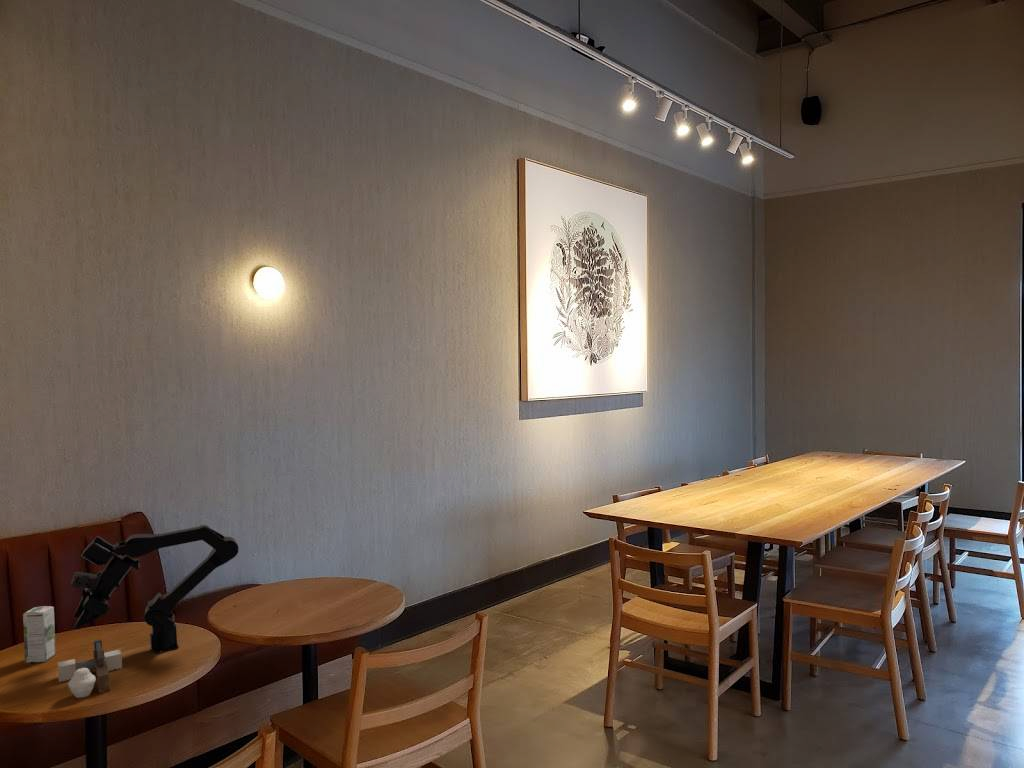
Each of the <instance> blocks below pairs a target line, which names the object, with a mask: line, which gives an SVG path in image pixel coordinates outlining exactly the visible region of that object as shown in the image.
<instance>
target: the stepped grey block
mask: <svg viewBox="0 0 1024 768" xmlns="http://www.w3.org/2000/svg"><path fill="white" fill-rule="evenodd" d="M93 645H94V646H93V648H94V650H96V651H97V655H98V660H99V665H100V666H102V665H104V657H103V653H102V649H103V644H102V638H99V639H94V640H93Z"/></svg>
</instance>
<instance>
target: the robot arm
mask: <svg viewBox="0 0 1024 768" xmlns="http://www.w3.org/2000/svg"><path fill="white" fill-rule="evenodd" d="M198 541H203V542H204V543H206V544H207V545H209V546H210V547H211V548H212V549H211V551H210V552H209V554H208V555H207V556H206V558H204V560H202V562H201V563H200V564H198V565H197V566H196V567H195V568H194V569H193V570H192V571H190V572H189V573H188V574H187V575H186V576H185V577H184V578H183V579H182V580H180V582H179V583H177V584H176V585H175V586H174V587H173V588H171V589H170V591H168V592H166V593H164V594H161V592H158V593H157V594H156V595H155V596H154V598H152V599H151V600H148V602H147V606H146V607H145V609H144V621H145V623H146V624H147V625H148V626H151V633H149V640H150V641H149V643H150V650H151V651H153V653H154V654H157V653H156V652H158V653H161V652H160V651H162V652H167V651H171V650H170V649H172V650H175V649H179V645H178V636H177V635H178V634H177V632H178V631H177V625H176V622H175V614H174V613H173V611H174V609H175V607H176V606H177V605H178V604H179V603H180V602H181V600H183V599H184V598H185V597H186V596H187V595H189V593H191V591H193V590H194V589H195V588H196V587H197V586H198V585H199V584H201V582H202V581H204V580H205V579H206V578H207V577H208V576H210V574H211V573H212V572H213V571H215V570H216V569H217V568H219V567H221V566H223V565H225V564H226V563H228V562H230V561H231V560H233V559H235V557H236V556H237V555H238V554H239V545H238V542H237V540H236V539H235V538H233V536H224V535H223V534H222V533H219V532H218V531H217V530H214V529H213V528H211V527H210V526H208V525H207V524H202V525H200V526H195V527H189V528H184V529H180V530H173V531H168V532H164V533H155V534H154V533H135V534H131V535H130V536H128V538H126V539H125V540H123V541H121V542H117V543H115V544H111V543H110V542H108V541H107V540H105V539H104V538H102V537H101V536H100V535H97V536H96V537H95V538H94V539H93V540H92V542H91V543H89V544H88V545H87V546H86V548H85V549H84V550H83V552H82V553H81V555H80V557H81V558H83V559H85V560H87V561H88V562H90V563H92V564H94V565H95V566H98V567H99V566H105V567H104V569H103V570H99V571H98V572H97V573H96V574H93V573H91V572H89V573H88V572H84V571H83V572H82V571H75V572H74V573H73V577H72V579H71V582H70V584H71V585H70V586H71V587H72V588H75V589H77V588H81V594H82V597H81V600H80V602H79V604H78V605H77V608H76V610H75V612H74V614H73V617H74V618H77V621H76V623H75V625H74V626H73V627H74V629H76V630H80V629H81V628H83V627H84V626H86V625H88V624H89V623H90V622H92V621H95V620H96V619H98V618H100V617H103V616H106V614H107V613H108V612H109V610H110V605H109V602H108V601H109V600H110V599H111V595H112V593H113V592H114V591H115V590H116V588H120V586H121V582H122V580H123V579H124V578H125V577H126V575H127V574H128V572H129V571H130V570H131V569H132V568H133V569H134V570H137V571H138V570H140V558H139V557H142V556H145V555H147V554H150V553H153V552H154V551H157V550H159V549H163V548H168V547H173V546H178V545H179V546H180V545H182V544H183V545H184V544H188V543H189V544H190V543H193V542H194V543H195V542H198ZM111 558H112V559H111ZM134 558H135V559H134ZM109 560H110V561H109ZM106 564H107V565H106ZM166 650H167V651H166Z"/></svg>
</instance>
